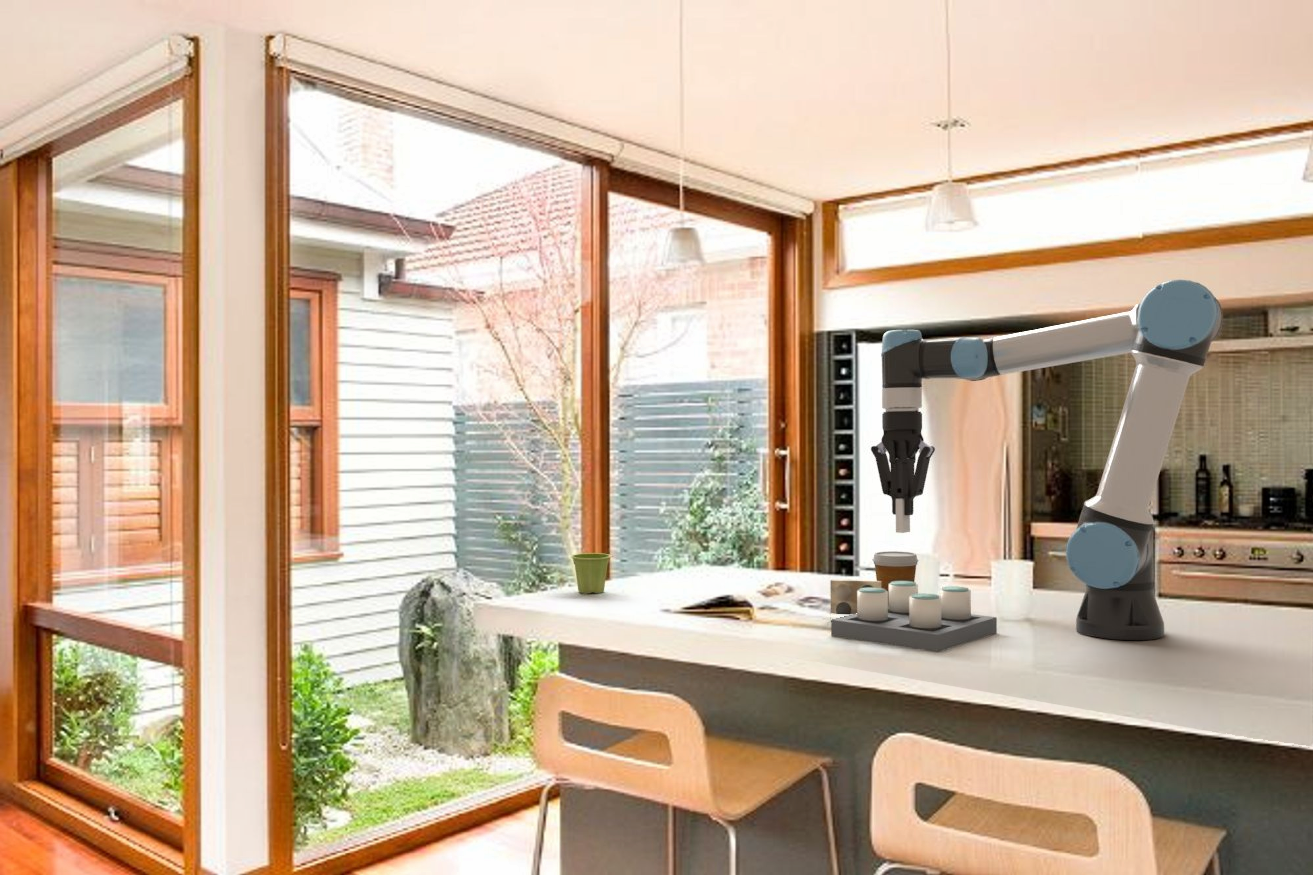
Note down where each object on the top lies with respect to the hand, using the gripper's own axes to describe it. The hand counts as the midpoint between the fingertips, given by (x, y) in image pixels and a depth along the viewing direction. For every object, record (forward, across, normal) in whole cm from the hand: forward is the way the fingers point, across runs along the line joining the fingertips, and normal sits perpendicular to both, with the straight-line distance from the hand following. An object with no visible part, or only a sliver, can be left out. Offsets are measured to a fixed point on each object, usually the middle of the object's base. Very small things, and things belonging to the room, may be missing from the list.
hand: (902, 531), depth 210 cm
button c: (+15, -11, +11) cm, 22 cm away
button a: (+15, -11, 0) cm, 19 cm away
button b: (+15, 0, 0) cm, 15 cm away
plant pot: (+19, +78, +10) cm, 81 cm away
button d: (+15, 0, +11) cm, 19 cm away
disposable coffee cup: (+19, +10, -14) cm, 26 cm away
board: (+18, -6, +6) cm, 20 cm away
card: (+18, +10, 0) cm, 21 cm away
